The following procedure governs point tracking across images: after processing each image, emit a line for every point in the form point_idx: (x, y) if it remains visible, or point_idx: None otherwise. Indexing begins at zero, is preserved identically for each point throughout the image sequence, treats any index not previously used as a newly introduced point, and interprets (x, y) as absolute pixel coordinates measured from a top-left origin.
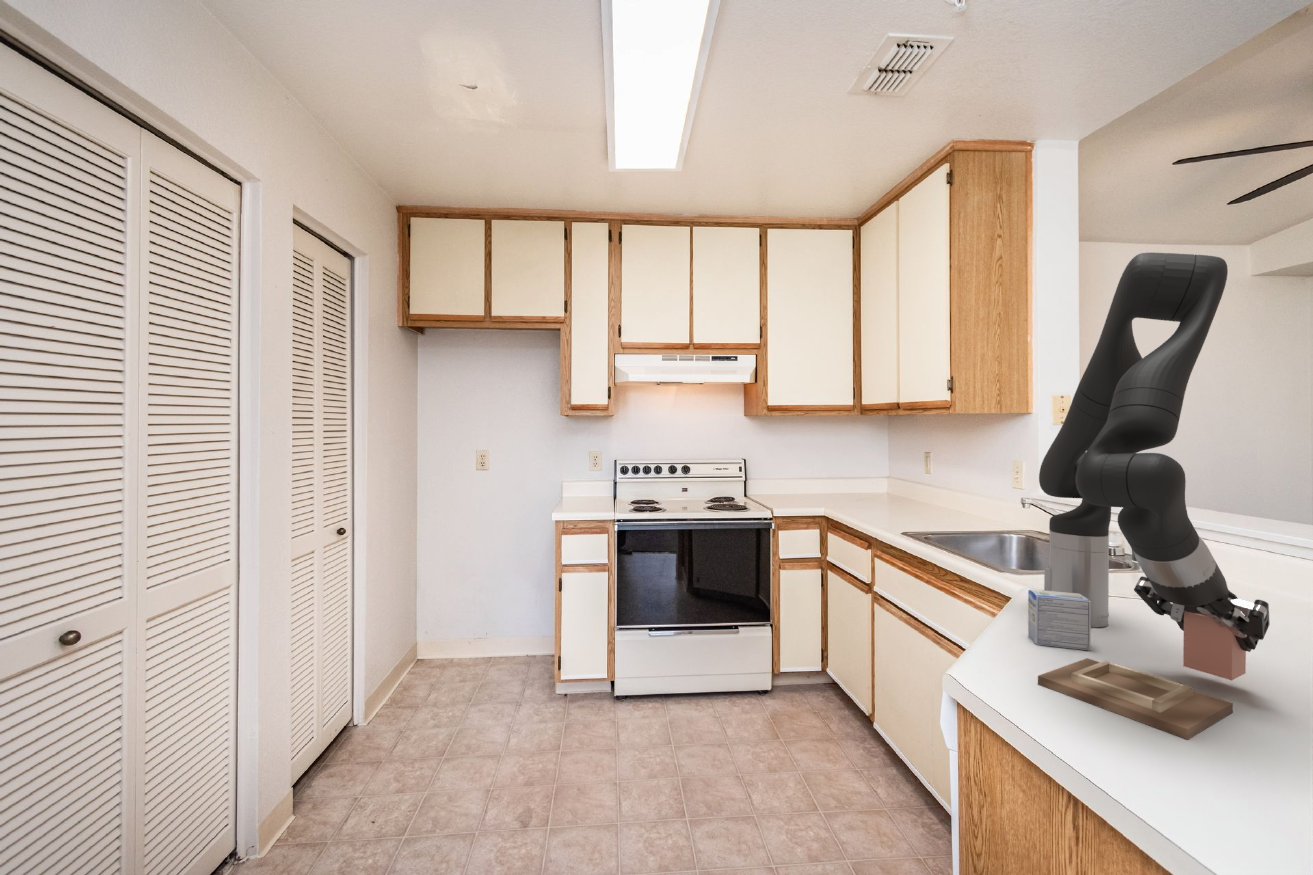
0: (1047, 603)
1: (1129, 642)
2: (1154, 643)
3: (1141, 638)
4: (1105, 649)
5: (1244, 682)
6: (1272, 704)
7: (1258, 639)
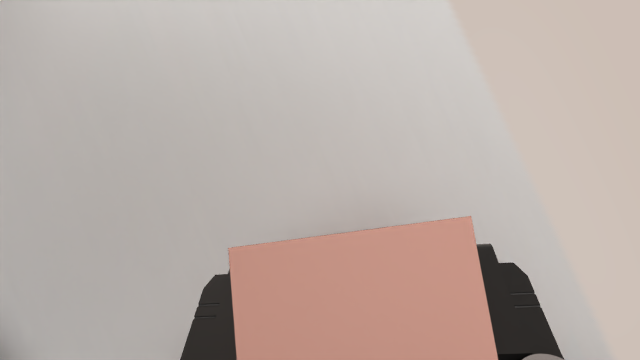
0: None
1: (36, 135)
2: (82, 58)
3: (38, 47)
4: (28, 314)
5: (386, 182)
6: None
7: (530, 283)
